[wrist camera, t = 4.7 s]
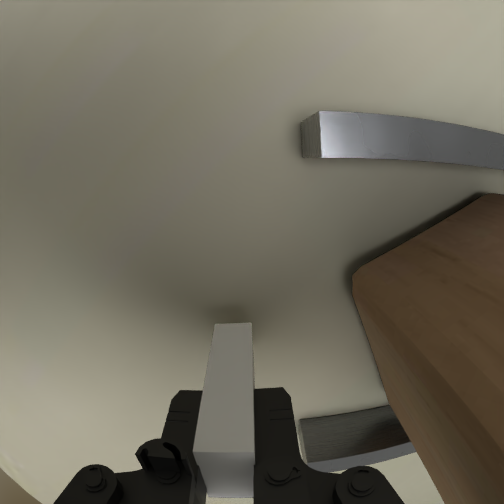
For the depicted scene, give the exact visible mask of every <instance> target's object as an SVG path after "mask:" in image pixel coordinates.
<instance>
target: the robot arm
mask: <svg viewBox="0 0 504 504" xmlns="http://www.w3.org/2000/svg"><path fill="white" fill-rule="evenodd" d="M135 455H136V457H137V459H138V460H139V462H140V464H141V466H142V468H143V469H141V470H137V471H132V472H122V473H114V472H113V471H112V470H111V469H109V468H108V467H106V466H103V465H99V464H95V465H89V466H86V467H84V468H82V469H81V470H80V471H79V472H78V473H77V474H76V475H75V476H74V478H73V479H72V480H71V481H70V483H69V484H68V485H67V487H66V488H65V489H64V491H63V492H62V493H61V494H60V496H59V497H58V498H57V500H56V501H55V502H54V503H53V504H205V503H206V493H207V494H208V497H217V498H254V504H404V502H403V501H402V500H401V498H400V497H399V496H398V494H397V493H396V491H395V490H394V489H393V487H392V486H391V485H390V483H389V482H388V480H387V479H386V478H385V476H384V475H383V474H382V473H381V472H380V471H378V470H377V469H375V468H372V467H370V466H356V467H352V468H349V469H347V470H346V471H344V472H342V474H336V473H327V472H321V471H317V470H315V469H312V468H310V467H309V466H308V465H307V464H305V463H304V461H303V460H302V458H301V455H300V452H299V446H298V439H297V433H296V427H295V421H294V414H293V409H292V402H291V397H290V395H289V394H288V393H287V392H286V391H285V389H284V388H283V387H279V388H262V389H255V376H254V357H253V340H252V323H228V324H215V326H214V332H213V337H212V343H211V348H210V354H209V359H208V365H207V370H206V376H205V381H204V387H203V391H195V390H180V391H179V392H178V393H177V394H176V395H175V396H174V398H173V399H172V400H171V404H170V407H169V413H168V415H167V418H166V422H165V426H164V429H163V433H162V437H161V439H153V440H150V441H147V442H145V443H144V444H143V445H141V446H140V447H139V448H138V450H137V452H136V453H135Z"/></svg>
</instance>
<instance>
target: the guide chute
mask: <svg viewBox="0 0 504 504" xmlns="http://www.w3.org/2000/svg"><path fill="white" fill-rule="evenodd" d="M301 138H302V157H316V158H378V159H400V160H416V161H430V162H442V163H452V164H462V165H471V166H479V167H487V168H494V169H501V170H504V135H503V134H499V133H495V132H490V131H486V130H482V129H477V128H472V127H467V126H462V125H457V124H451V123H445V122H439V121H433V120H426V119H419V118H411V117H403V116H394V115H384V114H372V113H358V112H339V111H318V112H317V113H315V114H314V115H312V116H310V117H309V118H307V119H306V120H304V121H302V122H301ZM299 439H300V445H301V451H302V458H303V461H304V463H305V464H307V465H308V466H309V467H310V468H312V469H315V470H317V471H321V472H327V473H328V472H334V471H340V470H346V469H349V468H352V467H356V466H365V465H370V464H374V463H378V462H382V461H386V460H390V459H394V458H397V457H401V456H404V455H408V454H411V453H414V452H417V451H416V450H415V448H414V446H413V444H412V442H411V441H410V439H409V437H408V435H407V434H406V432H405V430H404V428H403V427H402V425H401V423H400V421H399V420H398V418H397V416H396V415H395V413H394V411H393V409H392V408H391V406H390V405H388V406H384V407H379V408H374V409H369V410H364V411H358V412H353V413H347V414H341V415H334V416H327V417H320V418H311V419H303V420H300V421H299Z"/></svg>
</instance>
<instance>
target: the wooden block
mask: <svg viewBox="0 0 504 504" xmlns="http://www.w3.org/2000/svg"><path fill="white" fill-rule="evenodd" d="M352 282H353V292H352V296H353V298H354V301H355V304H356V306H357V309H358V312H359V315H360V317H361V320H362V323H363V326H364V328H365V331H366V334H367V337H368V340H369V343H370V346H371V349H372V352H373V355H374V358H375V361H376V364H377V367H378V370H379V373H380V376H381V379H382V382H383V386H384V389H385V392H386V395H387V399H388V402H389V404H390V406H391V408H392V409H393V411H394V413H395V415H396V416H397V418H398V420H399V421H400V423H401V425H402V427H403V428H404V430H405V432H406V434H407V435H408V437H409V439H410V441H411V442H412V444H413V446H414V448H415V450H416V451H417V453H418V455H419V457H420V459H421V460H422V462H423V464H424V466H425V468H426V469H427V471H428V473H429V475H430V477H431V479H432V480H433V482H434V484H435V486H436V488H437V490H438V492H439V494H440V495H441V497H442V499H443V501H444V503H445V504H504V195H502V194H496V193H488V194H486V195H484V196H482V197H480V198H478V199H477V200H475V201H474V202H472V203H470V204H469V205H467V206H466V207H464V208H462V209H461V210H459V211H458V212H456V213H454V214H453V215H451V216H449V217H448V218H446V219H444V220H443V221H441V222H439V223H438V224H436V225H434V226H432V227H431V228H429V229H427V230H426V231H424V232H422V233H420V234H419V235H417V236H415V237H413V238H412V239H410V240H408V241H406V242H405V243H403V244H401V245H399V246H397V247H396V248H394V249H392V250H390V251H388V252H387V253H385V254H383V255H381V256H379V257H377V258H376V259H374V260H372V261H370V262H368V263H366V264H364V265H362V266H361V267H360V268H359V269H358V270H357V271H356V272H355V273H354V274H353V275H352Z"/></svg>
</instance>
